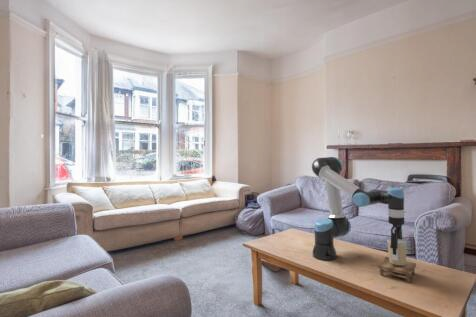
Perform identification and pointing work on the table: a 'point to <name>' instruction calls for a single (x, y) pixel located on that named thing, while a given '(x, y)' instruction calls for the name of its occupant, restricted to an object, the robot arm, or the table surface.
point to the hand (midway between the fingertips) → (397, 257)
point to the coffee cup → (401, 252)
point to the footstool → (397, 268)
